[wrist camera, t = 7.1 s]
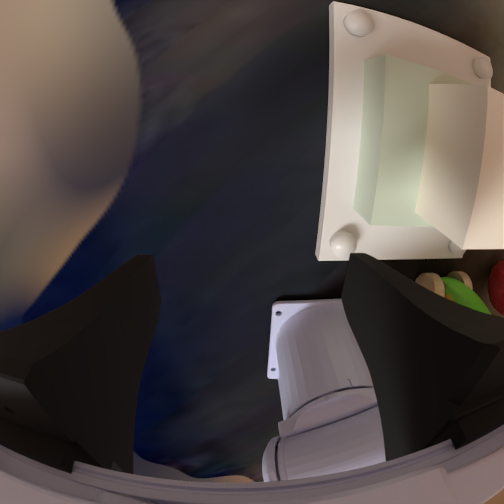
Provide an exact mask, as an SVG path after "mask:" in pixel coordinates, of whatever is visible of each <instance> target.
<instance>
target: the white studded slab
mask: <svg viewBox="0 0 504 504" xmlns="http://www.w3.org/2000/svg"><path fill="white" fill-rule="evenodd" d="M492 75H493V69H492V65H491V62H490V57H488V56H486V55H484V54H482V53H481V52H479V51H477V50H475V49H473V48H471V47H469V46H467V45H465V44H463V43H461V42H459V41H457V40H455V39H452V38H450V37H448V36H446V35H443V34H441V33H439V32H436V31H434V30H431V29H429V28H426V27H424V26H421V25H418V24H416V23H413V22H410V21H407V20H404V19H401V18H398V17H395V16H392V15H389V14H385V13H382V12H378V11H374V10H371V9H367V8H363V7H359V6H354V5H350V4H345V3H340V2H335V1H333V2H332V3H331V4H330V5H329V95H328V118H327V136H326V151H325V165H324V177H323V188H322V199H321V209H320V219H319V228H318V237H317V245H316V253H315V254H316V257H317V259H318V261H339V260H349V256H350V253H366V254H368V255H370V256H372V257H374V258H376V259H378V260H397V259H442V258H462V257H463V254H464V253H465V251H466V250H467V249H461V248H460V247H459V246H457V245H456V244H455V243H454V242H453V241H451V240H450V239H449V238H448V237H446V236H445V235H444V234H443V233H441V232H440V231H439V230H438V229H436V228H435V227H434V226H432V225H431V224H430V223H428V222H427V221H426V220H424V219H423V218H422V217H420V216H419V215H418V214H416V213H415V208H416V203H417V197H418V192H419V186H420V179H421V173H422V166H423V158H424V150H425V141H426V130H427V117H428V100H429V84H468V85H484V86H489V87H491V78H492Z"/></svg>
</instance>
